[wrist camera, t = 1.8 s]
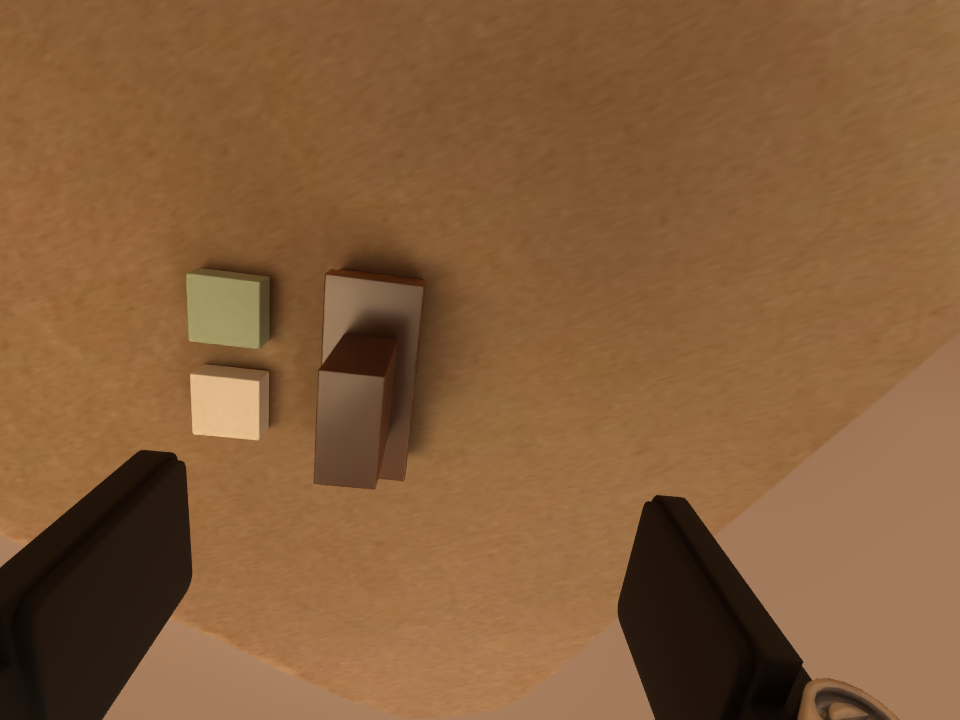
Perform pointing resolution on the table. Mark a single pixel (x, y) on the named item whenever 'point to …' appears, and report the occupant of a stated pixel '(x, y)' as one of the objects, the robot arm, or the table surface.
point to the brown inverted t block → (366, 377)
